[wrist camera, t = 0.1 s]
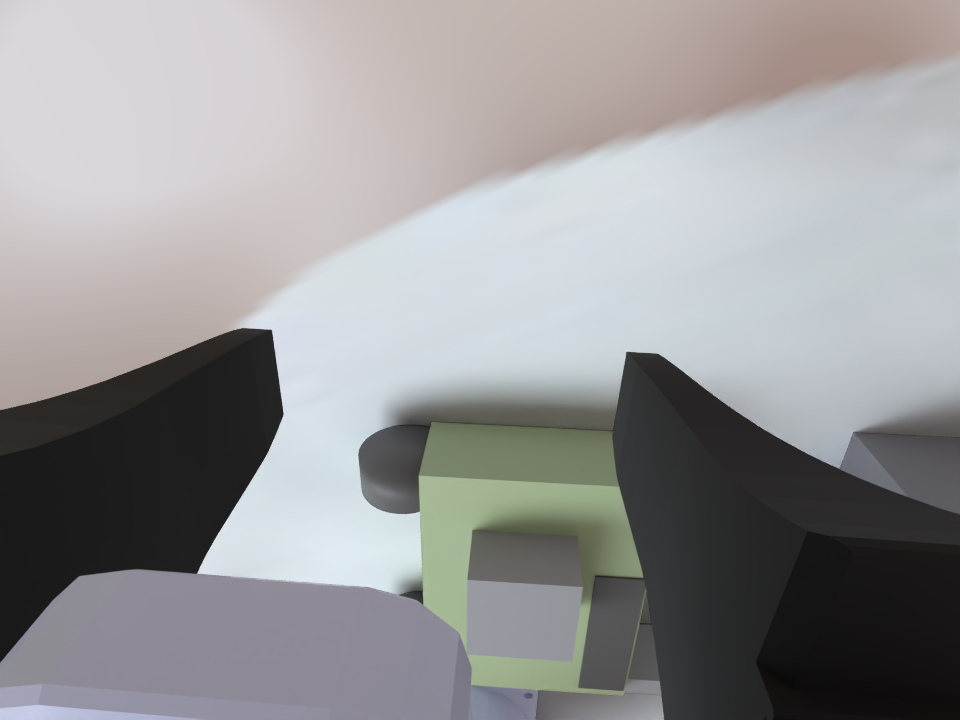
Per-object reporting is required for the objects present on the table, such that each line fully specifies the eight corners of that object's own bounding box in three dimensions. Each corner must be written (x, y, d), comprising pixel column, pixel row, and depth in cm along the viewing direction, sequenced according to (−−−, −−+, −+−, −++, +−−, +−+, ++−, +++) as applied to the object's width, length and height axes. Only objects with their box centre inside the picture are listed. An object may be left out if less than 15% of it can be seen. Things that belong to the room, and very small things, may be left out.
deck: (732, 643, 30) (776, 769, 25) (386, 620, 31) (358, 737, 26) (799, 440, 24) (875, 550, 19) (369, 418, 25) (329, 517, 20)
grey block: (981, 533, 26) (1074, 633, 22) (816, 524, 26) (876, 621, 22) (1033, 439, 24) (1150, 530, 19) (851, 430, 24) (926, 518, 20)
